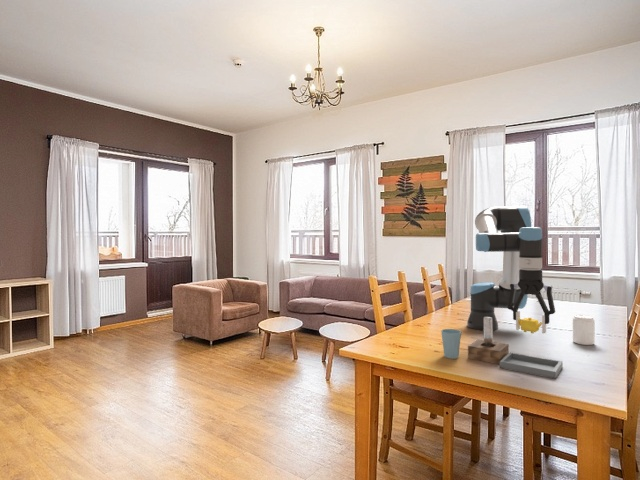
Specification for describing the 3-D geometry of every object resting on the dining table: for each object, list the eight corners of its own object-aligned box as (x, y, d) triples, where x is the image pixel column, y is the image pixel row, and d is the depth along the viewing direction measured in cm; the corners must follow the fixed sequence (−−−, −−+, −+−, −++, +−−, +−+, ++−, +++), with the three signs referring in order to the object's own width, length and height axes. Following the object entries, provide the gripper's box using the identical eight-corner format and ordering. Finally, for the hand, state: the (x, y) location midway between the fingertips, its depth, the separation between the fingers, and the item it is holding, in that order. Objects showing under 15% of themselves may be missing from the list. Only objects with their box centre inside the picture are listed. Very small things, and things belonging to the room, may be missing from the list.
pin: (482, 352, 157) (482, 317, 157) (485, 350, 160) (485, 316, 160) (491, 354, 155) (490, 318, 155) (493, 352, 158) (493, 317, 157)
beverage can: (584, 346, 170) (584, 319, 170) (568, 341, 178) (568, 315, 178) (599, 344, 173) (599, 317, 172) (582, 340, 180) (582, 314, 180)
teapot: (545, 332, 144) (545, 317, 144) (540, 334, 140) (540, 320, 140) (522, 328, 149) (522, 314, 149) (516, 331, 146) (516, 317, 145)
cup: (439, 353, 163) (439, 328, 163) (458, 353, 163) (458, 328, 162) (443, 359, 156) (443, 333, 155) (463, 359, 155) (463, 333, 155)
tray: (499, 367, 145) (499, 361, 145) (509, 358, 156) (509, 352, 156) (555, 378, 134) (555, 371, 134) (562, 367, 145) (562, 361, 144)
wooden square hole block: (468, 358, 157) (468, 345, 157) (478, 351, 166) (478, 339, 166) (499, 364, 149) (499, 351, 149) (508, 356, 158) (508, 344, 158)
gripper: (497, 268, 148) (498, 328, 148) (561, 271, 135) (561, 337, 135) (503, 267, 154) (503, 324, 154) (565, 269, 141) (565, 332, 141)
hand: (530, 330), depth 145 cm, fingers closed on teapot, 8 cm apart
